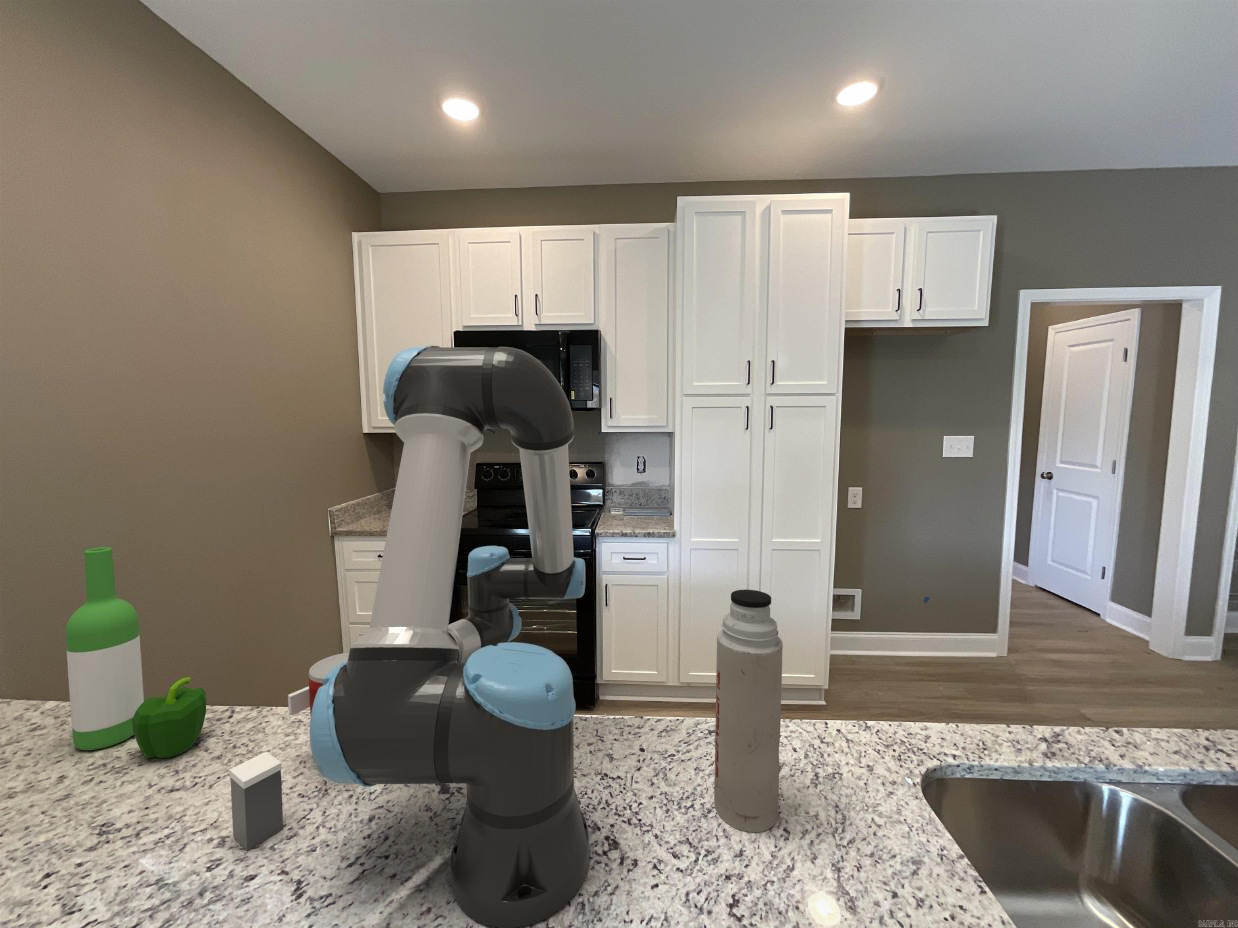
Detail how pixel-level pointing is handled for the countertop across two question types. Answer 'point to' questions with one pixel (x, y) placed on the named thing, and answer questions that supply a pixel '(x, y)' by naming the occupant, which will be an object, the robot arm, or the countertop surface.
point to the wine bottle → (103, 659)
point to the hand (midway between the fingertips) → (305, 714)
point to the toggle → (256, 800)
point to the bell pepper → (170, 721)
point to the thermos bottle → (748, 714)
